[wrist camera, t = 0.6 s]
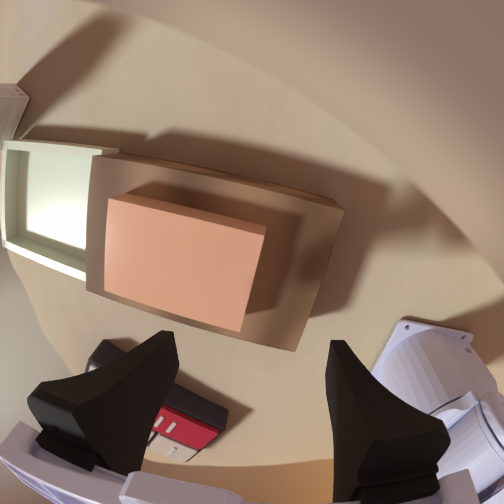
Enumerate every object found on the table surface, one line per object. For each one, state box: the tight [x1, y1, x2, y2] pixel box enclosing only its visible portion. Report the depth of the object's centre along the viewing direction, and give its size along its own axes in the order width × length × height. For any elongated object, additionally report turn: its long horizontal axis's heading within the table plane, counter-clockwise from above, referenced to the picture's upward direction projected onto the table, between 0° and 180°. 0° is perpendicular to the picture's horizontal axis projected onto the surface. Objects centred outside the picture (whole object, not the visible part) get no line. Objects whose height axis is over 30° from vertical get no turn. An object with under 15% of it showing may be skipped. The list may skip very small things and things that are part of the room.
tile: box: [104, 193, 267, 332], centre depth 17 cm, size 9×6×2 cm, turn 77°
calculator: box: [85, 339, 228, 463], centre depth 27 cm, size 11×4×15 cm
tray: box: [1, 139, 120, 281], centre depth 21 cm, size 13×11×2 cm
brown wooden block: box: [86, 153, 344, 352], centre depth 20 cm, size 16×10×4 cm, turn 77°
